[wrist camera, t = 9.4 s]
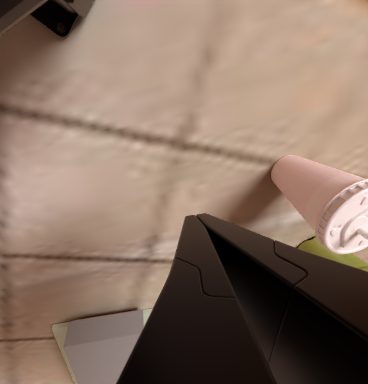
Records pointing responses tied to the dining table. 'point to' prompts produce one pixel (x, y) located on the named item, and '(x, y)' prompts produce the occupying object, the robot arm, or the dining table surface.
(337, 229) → the smoothie
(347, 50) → the dining table surface
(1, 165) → the dining table surface
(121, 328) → the slate tile
